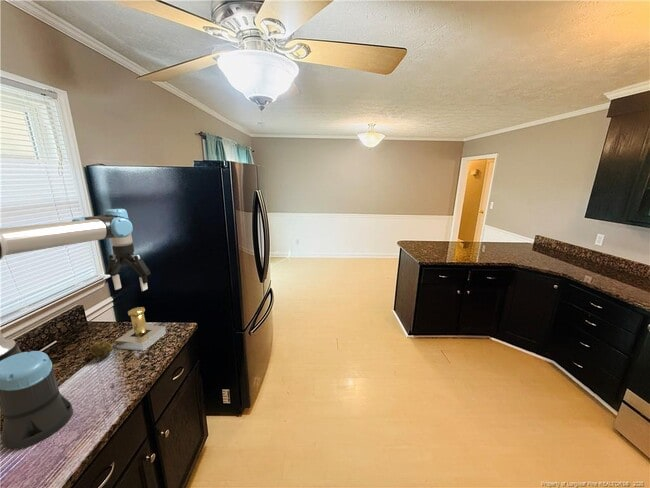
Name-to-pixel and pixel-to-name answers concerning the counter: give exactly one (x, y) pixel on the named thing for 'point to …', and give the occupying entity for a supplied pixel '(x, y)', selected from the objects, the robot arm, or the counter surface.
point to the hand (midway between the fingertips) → (131, 289)
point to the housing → (140, 338)
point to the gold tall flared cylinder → (138, 321)
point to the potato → (101, 349)
